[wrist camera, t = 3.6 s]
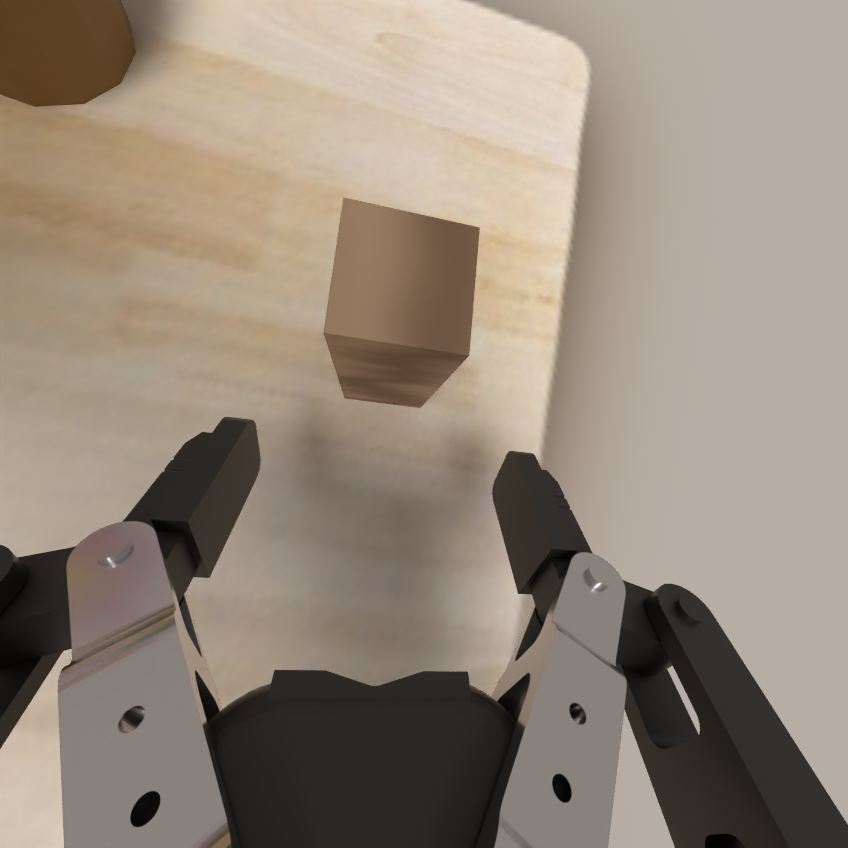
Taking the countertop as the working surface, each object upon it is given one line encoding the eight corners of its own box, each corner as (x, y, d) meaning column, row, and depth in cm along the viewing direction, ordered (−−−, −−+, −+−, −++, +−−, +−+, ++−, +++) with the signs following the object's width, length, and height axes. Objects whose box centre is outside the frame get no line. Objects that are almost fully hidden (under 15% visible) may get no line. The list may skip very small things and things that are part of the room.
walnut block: (344, 398, 22) (323, 332, 11) (354, 325, 22) (343, 197, 12) (420, 407, 23) (469, 355, 12) (427, 337, 23) (479, 227, 12)
